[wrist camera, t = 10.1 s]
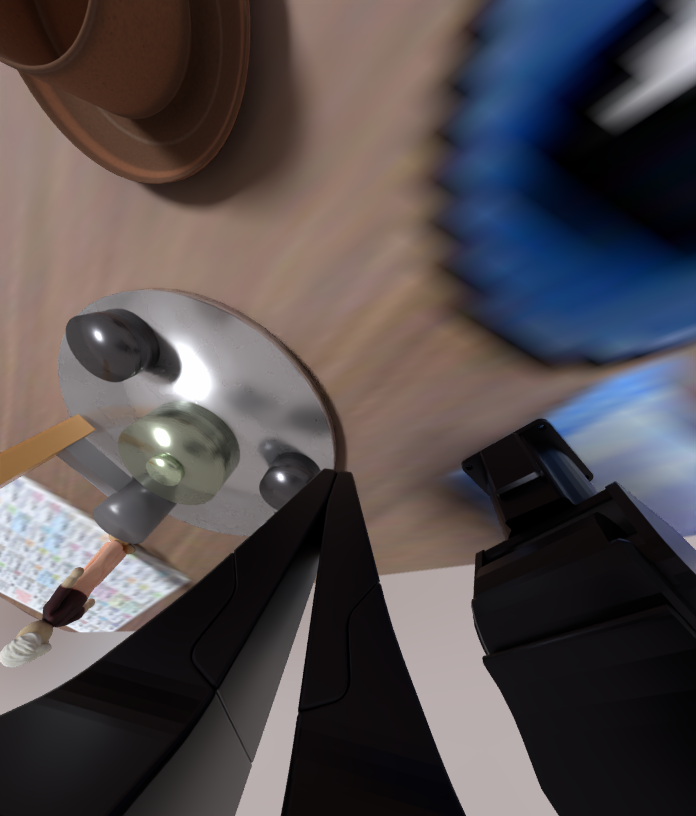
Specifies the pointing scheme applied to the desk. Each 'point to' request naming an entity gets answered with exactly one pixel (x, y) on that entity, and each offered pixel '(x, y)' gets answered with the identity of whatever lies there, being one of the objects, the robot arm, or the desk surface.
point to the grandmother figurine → (65, 604)
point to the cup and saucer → (134, 77)
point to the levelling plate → (196, 405)
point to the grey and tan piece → (91, 478)
